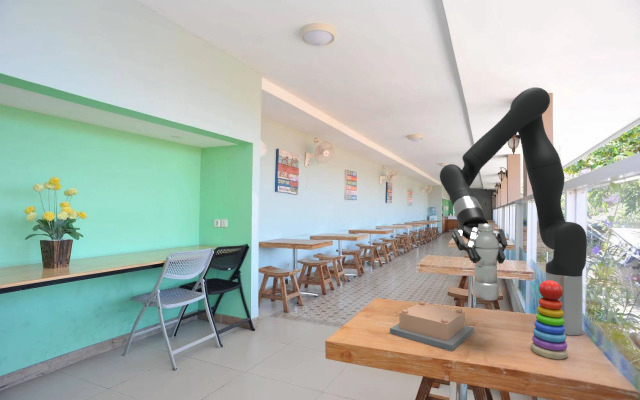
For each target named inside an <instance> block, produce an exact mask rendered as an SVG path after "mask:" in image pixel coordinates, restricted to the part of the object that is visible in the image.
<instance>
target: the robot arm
mask: <svg viewBox="0 0 640 400" xmlns="http://www.w3.org/2000/svg"><path fill="white" fill-rule="evenodd" d="M550 103H551V97H550V94H549V93H548V91H547V90H545V89H544V88H541V87H530V88H529V87H528V88H527V89H525V90H523V91H521V92H520V93H519V94H518V95H517V96H516V97H515V98H513V100H512V102H511V104H510V107H509V108H510V109H509V110H508V112H506V114H505V115H504V116H503V117H502V118H501V119H500V120H499V121H498V122H497V123H496V124H495V125H493V126H492V128H490V129H489V130H488V131H487V132H486V133H484V134H483V135H482V136H481V137H480V138H479V139H478V140H477V141H476V142H475V143H474V144H473V145H472V146H471V147H470V148H469V149H468V150H466V152H465V153H464V154H463V155H462V158H461V159H462V161H463V167H462V168H461V167H460V166H459V165H457V164H455V163H454V164H453V163H452V164H451V163H449V164H447V165H444V166H443V168H441V170H440V172H439V180H440V183H441V184H442V185H441V186H443V188H444V190H445V191H446V192H447V195H448V196H449V198H450V202H451V205H452V207H453V211H454V215H455V218H456V221H457V224H458V225H459V229H458V228H457V227H456V228H454V229H453V231H452V234H451V237H452V239H453V241H454V243H455V245H456V247H457V249H458V251H461V252H462V251H464V252H466V253H467V256H468V258H469V261H471V262H472V264H475V263H477V261H478V256H477V254H476V251H475V249H474V248H473V241H474V239H475V238H476V236H477V235H478V234H479V231H478V224H489V222H488V219H487V216H486V215H485V212H484V210H483V208H482V206H481V203H480V202H479V201H478V199H477V197H476V194H475V193H474V191H473V189H472V188H471V186H472V184H473V183H474V180H475V179H476V178H477V176H478V174H479V173H480V171H481V169H482V168H483V167H484V166H486V164H487V163H488V162H489V161H490V160H492V158H494V156H495V155H496V154H498V152H499V151H500V150H501V149H502V148H503V147H504V146H505V145H506V144H507V143H508V142H509V141H510V140H511V139H512V138H513V137H514V136H515V135H516V134H517V133H518V137H519V139H520V144H521V150H522V154H523V159H524V162H525V168H526V173H527V177H528V180H529V183H530V188H531V190H532V195H533V199H534V203H535V207H536V214H537V221H538V228H539V234H540V235H539V236H540V239H541V241H542V243H543V245H545V246H546V247H547V248H549V249H551V250H553V257H552V259H551V261H548V262H546V263H545V281H547V280H551V281H555V282H557V283H558V284H559V285H560V286H561V287H562V290H563V294H562V296H561V298H560V299H558V300H559V301H561V303H562V308H560V309H561V310H562V311H563V313H564V314H563V316H562V317H563V318H564V321H565V322H564V324H563V326H564V327H565V332H564V334H565V335H566V336H567V335H570V336H580V335H583V318H584V317H583V310H584V309H583V307H584V306H583V295H584V294H583V293H584V291H583V271H584V270H585V269H584V268H585V267H586V265H587V263H586V262H587V253H588V251H587V250H588V238H587V237H588V236H587V233H586V230H585V228H583V226H581V224H578V223H576V222H572V221H566V219H565V216H564V213H563V209H562V195H563V191H564V186H565V172H564V168H563V164H562V162H561V158H560V155H559V153H558V152H557V149H556V148H555V146H554V145H553V143H552V142H551V140H550V139H549V137H548V135H547V132H546V130H545V126H544V120H543V115H544V114H545V113H546V111H547V110H548V108H549V107H550ZM493 235H494V236H495V237H496V239H497V240H498V242H499V252H498V258H497V264H499V265H500V264H503V263H504V262H505V260H506V256H505V252H504V251H505V250H506V248H507V246H508V244H509V243H508V242H507V238H506V234H505V232H504V230H503V229H502V228H499V229H498V230H495V229H494V231H493ZM463 237H464V238H465V239H467V243H466V242H465V240H464V238H463Z"/></svg>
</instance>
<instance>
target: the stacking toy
mask: <svg viewBox="0 0 640 400" xmlns="http://www.w3.org/2000/svg"><path fill="white" fill-rule="evenodd" d="M538 292H539V294H540V296H542V297H541V298H539V299H538V304H539V305H538V307H537V312H538V313H536V316H535V317H536V320H535V321H534V328H533V330H532V332H533V335H532V337H531V340H532V342H531V344H530V348H531V350H532V351H533V352H534V353H536V354H537V355H539V356H542V357H544V358H548V359H553V360H554V359H555V360H561V359H562V360H563V359H566V358H568V356H569V350H568V349H567V348H568V343H567V341H566V340H567V334H564V332H565V327H564V326H563V324H564V322H565V321H564V318H563V317H562V316H563V314H564V313H563V311H562V310H561V309H560V308H562V303H561V301H559V300H558V299H560V298H561V296H562V294H563V290H562V287H561V286H560V285H559V284H558V283H557V282H555V281H551V280H547V281H546V280H544V281H542V282H541V283H540V284H539V287H538Z"/></svg>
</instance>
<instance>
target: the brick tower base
mask: <svg viewBox="0 0 640 400" xmlns="http://www.w3.org/2000/svg"><path fill="white" fill-rule="evenodd" d="M465 313H466V312H465V311H463V309H462V308H455V309H452V308H447V307H446V308H445V307H441V306H438V305H432V304H427V303H426V301H424V300H419V301H418V303H417V304H415V305H413V306H411V307H408V308H403V309H401V311H400V312H399V322H398V323H397V324H395V325H393V326H390V328H389V334H390V335H394V336H398V337H401V338H404V339H408V340H411V341H414V342H418V343H422V344H426V345H430V346H431V347H435V348H439V349H442V350H446V351H448V352H449V351H450V352H454V350H456V349H457V348H458V347H459V346H460V345H461V344H462V343H463V342H464V341H465V340H467V339H468V338H469V337H470V336H471V335H472V334H473V333H474V331H475V329H474V327H475V326H470V325H466V324H465V323H466V322H465V320H466V319H465V316H466V315H465ZM466 338H467V339H466Z"/></svg>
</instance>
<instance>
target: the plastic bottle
mask: <svg viewBox="0 0 640 400" xmlns="http://www.w3.org/2000/svg"><path fill="white" fill-rule="evenodd" d="M494 230H495V229H494V224H493V223H488V224H478V231H479V234H478V235H477V236H476V238H475V239H474V241H473V248H474V249H475V251H476V254H477V256H478V261H477V263H474V277H473V282H472V293H473V295H474V297H475V298H477V299H479V300H483V301H496V300H497V299H498V298H499V296H500V284H499V279H498V260H497V258H498V252H499V242H498V240H497V239H496V237H495V236H494V235H493V231H494Z"/></svg>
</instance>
